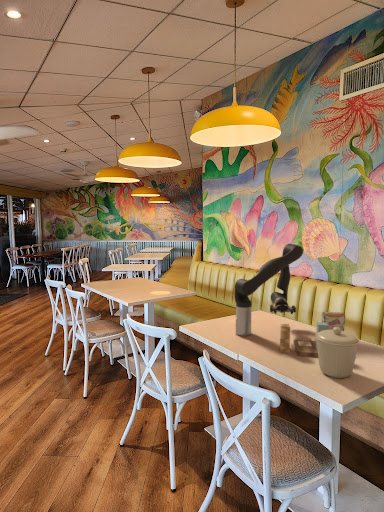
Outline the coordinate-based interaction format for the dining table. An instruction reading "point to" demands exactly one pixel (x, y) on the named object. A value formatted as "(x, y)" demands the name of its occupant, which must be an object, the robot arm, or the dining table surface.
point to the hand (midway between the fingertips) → (283, 312)
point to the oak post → (284, 338)
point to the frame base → (309, 343)
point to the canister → (336, 352)
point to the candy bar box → (334, 320)
